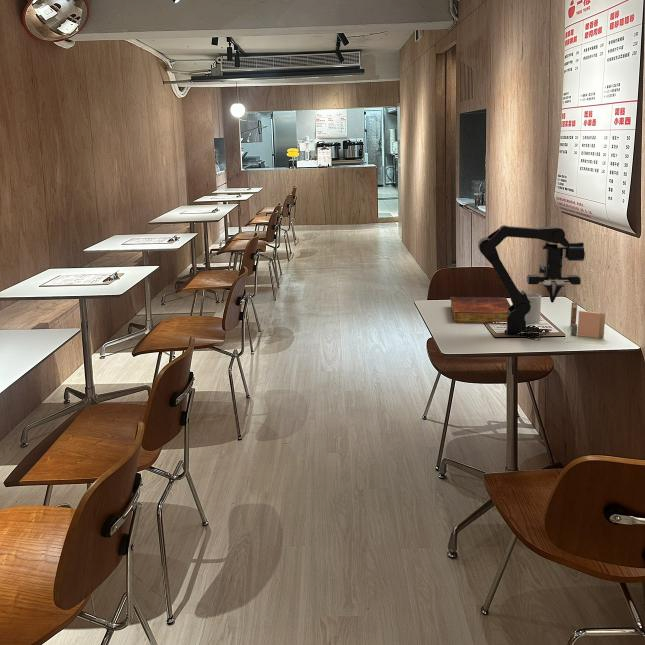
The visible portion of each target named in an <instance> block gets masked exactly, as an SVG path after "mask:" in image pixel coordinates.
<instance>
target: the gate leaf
mask: <svg viewBox="0 0 645 645" xmlns="http://www.w3.org/2000/svg"><path fill="white" fill-rule="evenodd" d="M577 320H578V321H577V327H578V332H577V335H582V336H589V337H597V338H604V339H605V337H604V336H605V323H606V312H596V311H587V310H578V319H577Z"/></svg>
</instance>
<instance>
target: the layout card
mask: <svg viewBox="0 0 645 645" xmlns="http://www.w3.org/2000/svg"><path fill="white" fill-rule="evenodd" d="M564 332H565V333H564V335H565V343H574V344H575V343H577V344H578V343H579V344H592V345H593V344H594V345H606V341H605V337H604V338H597V337H589V336H582V335H576V336H572V335H571V327H570V325H565V326H564ZM577 332H578V326H577Z"/></svg>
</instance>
